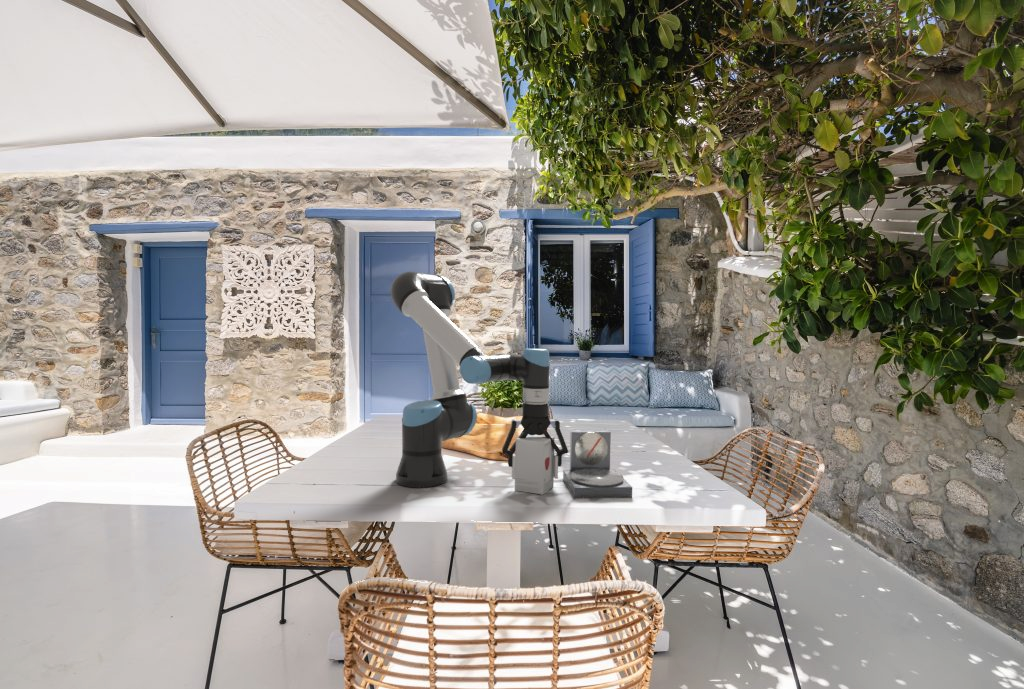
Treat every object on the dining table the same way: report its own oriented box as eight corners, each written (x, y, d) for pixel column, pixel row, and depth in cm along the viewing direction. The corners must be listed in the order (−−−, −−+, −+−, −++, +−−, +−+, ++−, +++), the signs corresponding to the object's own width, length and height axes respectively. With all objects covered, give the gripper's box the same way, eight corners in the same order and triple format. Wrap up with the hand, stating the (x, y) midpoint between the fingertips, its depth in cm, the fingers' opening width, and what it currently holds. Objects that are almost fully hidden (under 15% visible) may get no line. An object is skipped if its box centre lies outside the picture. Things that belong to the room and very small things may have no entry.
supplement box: (543, 495, 146) (544, 441, 145) (513, 490, 149) (514, 438, 149) (554, 486, 154) (555, 435, 153) (526, 482, 158) (527, 432, 157)
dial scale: (574, 498, 143) (575, 444, 143) (563, 479, 161) (564, 430, 161) (632, 497, 145) (633, 443, 144) (614, 478, 163) (615, 430, 162)
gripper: (494, 404, 146) (493, 481, 147) (579, 404, 148) (578, 480, 149) (493, 400, 154) (492, 474, 154) (574, 400, 155) (572, 473, 156)
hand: (534, 477), depth 152 cm, fingers closed on supplement box, 12 cm apart
